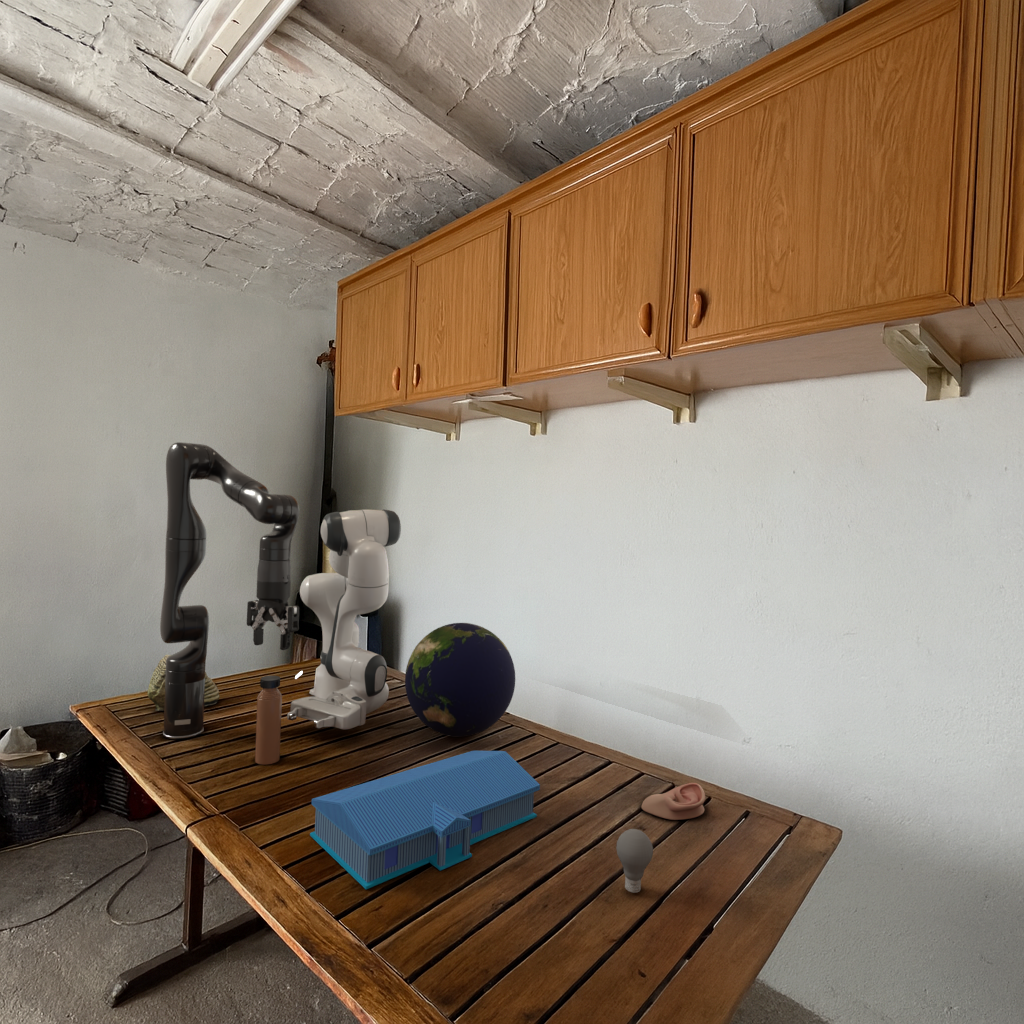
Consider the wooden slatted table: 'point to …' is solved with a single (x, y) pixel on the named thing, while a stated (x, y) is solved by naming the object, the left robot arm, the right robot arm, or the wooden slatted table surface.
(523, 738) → the wooden slatted table surface
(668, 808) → the anatomical model
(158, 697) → the fossil
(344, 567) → the right robot arm
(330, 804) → the model building
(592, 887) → the wooden slatted table surface
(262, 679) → the cap
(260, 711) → the bottle
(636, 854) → the light bulb
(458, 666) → the globe
